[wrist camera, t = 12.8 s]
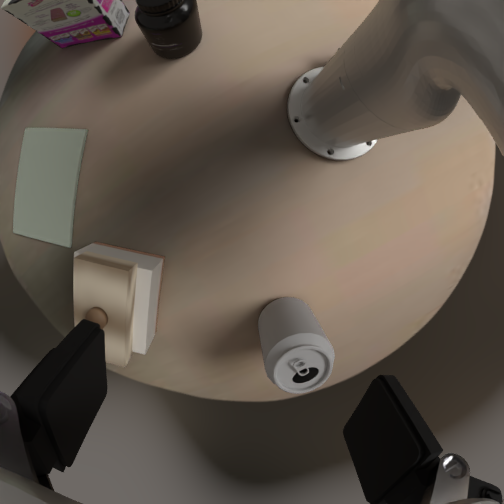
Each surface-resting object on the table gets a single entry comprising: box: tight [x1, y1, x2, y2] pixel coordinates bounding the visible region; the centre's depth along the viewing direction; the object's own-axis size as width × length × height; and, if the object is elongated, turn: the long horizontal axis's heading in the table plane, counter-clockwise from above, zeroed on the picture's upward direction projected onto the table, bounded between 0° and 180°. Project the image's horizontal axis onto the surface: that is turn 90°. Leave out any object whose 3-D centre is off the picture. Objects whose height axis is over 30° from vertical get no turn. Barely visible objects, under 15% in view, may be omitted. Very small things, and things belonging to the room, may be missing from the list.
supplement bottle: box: [135, 0, 202, 59], centre depth 23 cm, size 7×7×12 cm
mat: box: [13, 128, 88, 248], centre depth 31 cm, size 16×12×1 cm
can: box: [258, 297, 335, 393], centre depth 32 cm, size 8×8×12 cm
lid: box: [73, 251, 138, 368], centre depth 28 cm, size 12×6×4 cm, turn 167°
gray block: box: [73, 242, 165, 354], centre depth 33 cm, size 11×10×6 cm
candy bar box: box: [1, 0, 130, 48], centre depth 19 cm, size 11×5×16 cm, turn 83°
